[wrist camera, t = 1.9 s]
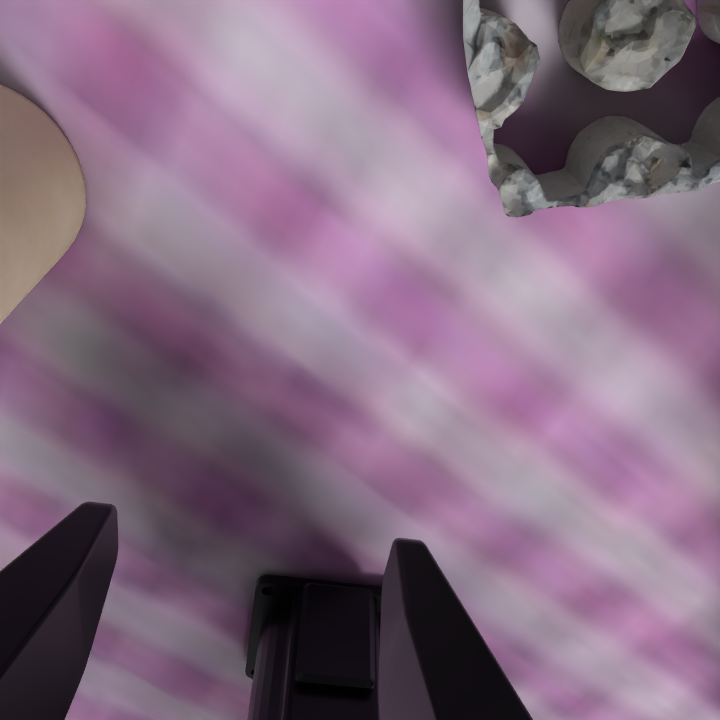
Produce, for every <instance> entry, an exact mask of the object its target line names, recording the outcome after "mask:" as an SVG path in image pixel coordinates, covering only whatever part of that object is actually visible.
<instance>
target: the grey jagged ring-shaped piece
mask: <svg viewBox="0 0 720 720" xmlns="http://www.w3.org/2000/svg"><path fill="white" fill-rule="evenodd" d="M697 19H698V23H699V25H700V28H701V30H702V32H703V33H704V34H705V35H706V36H707V37H708V38H709V39H711V40H712V41H714V42H716V43H718V44H720V0H697ZM695 28H696V22H695V16H694V14H693V13H692V12H691V10H690V9H689V8H688V6H687V5H686V4H685V2H684V1H683V0H569V1H568V3H567V5H566V7H565V9H564V11H563V14H562V17H561V20H560V23H559V29H558V37H559V40H558V43H559V46H560V49H561V52H562V55H563V57H564V58H565V60H566V61H567V63H568V64H569V65H570V67H572V68H573V69H574V70H576V71H577V72H579V73H580V74H582V75H583V76H585V77H586V78H588V79H589V80H590V81H592V82H593V83H595V84H597V85H599V86H601V87H602V88H604V89H606V90H613V91H628V92H629V91H635V90H641V89H647V88H651V87H652V86H653V85H654V84H655V83H656V82H657V81H658V80H659V79H660V78H661V77H662V76H663V75H664V74H665V73H666V72H667V71H669V70H670V69H671V68H672V67H673V66H675V65H676V64H677V63H678V62H679V61H680V60H681V58H682V56H683V54H684V52H685V50H686V48H687V46H688V44H689V41H690V39H691V37H692V35H693V32H694V30H695ZM463 41H464V49H465V57H466V65H467V73H468V77H469V82H470V86H471V91H472V96H473V100H474V105H475V110H476V114H477V119H478V123H479V128H480V133H481V137H482V140H483V143H484V146H485V149H486V153H487V158H488V172H489V177H490V179H491V181H492V183H493V184H494V185H495V186H496V187H497V189H498V191H499V194H500V198H501V201H502V204H503V206H504V213H505V214H506V215H507V216H510V217H521V216H526V215H530V214H531V213H532V212H533V211H535V210H539V209H545V208H552V207H560V206H575V207H595V206H597V205H600V204H602V203H605V202H608V201H613V200H620V199H631V198H647V197H651V196H655V195H659V194H666V193H676V192H685V191H700V190H701V189H702V188H704V187H706V186H708V185H710V184H712V183H717V182H720V96H719V97H717V98H716V99H715V100H714V101H712V102H711V103H710V104H709V105H708V106H707V107H706V108H705V109H704V110H703V112H702V113H701V115H700V116H699V118H698V119H697V121H696V124H695V126H694V128H693V131H692V134H691V137H690V140H689V141H688V142H685V143H682V144H671V143H669V142H667V141H666V140H664V139H663V138H662V137H661V136H659V135H658V134H656V133H655V132H653V131H652V130H650V129H649V128H647V127H646V126H644V125H643V124H641V123H639V122H637V121H635V120H633V119H631V118H629V117H625V116H618V115H610V116H605V117H601V118H599V119H597V120H595V121H593V122H591V123H590V124H588V125H587V126H586V127H585V128H584V129H583V130H581V131H580V133H579V134H578V135H577V136H576V137H575V139H574V140H573V142H572V144H571V146H570V148H569V151H568V155H567V159H566V164H565V167H564V168H563V169H561V170H557V171H551V172H547V173H544V174H538V175H534V174H533V173H532V171H531V170H530V169H529V168H528V166H527V165H526V164H525V162H524V161H523V160H522V159H521V158H520V157H519V156H518V155H517V154H516V152H515V151H514V150H513V149H511V148H509V147H507V146H505V145H502V144H496V143H493V135H494V129H497V128H501V127H502V125H503V123H504V120H505V119H506V118H507V117H508V116H509V115H511V114H512V113H513V112H514V111H515V110H516V109H517V108H518V107H519V106H520V105H521V104H523V101H524V98H525V96H526V93H527V91H528V88H529V86H530V84H531V81H532V79H533V75H534V71H535V69H536V67H537V66H538V64H539V63H540V59H539V54H538V48H537V45H536V44H534V43H533V42H532V41H530V40H529V39H528V38H527V36H526V35H525V34H524V33H523V32H522V31H521V29H520V28H519V27H518V26H517V25H516V24H515V23H513V22H512V21H510V20H508V19H506V18H505V17H503V16H501V15H500V14H497V13H495V12H492V11H489V10H487V9H484V8H479V0H463ZM595 84H593V85H595ZM593 85H592V86H593ZM590 87H591V86H590ZM588 88H589V87H588ZM586 89H587V88H586Z"/></svg>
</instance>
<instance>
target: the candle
mask: <svg viewBox="0 0 720 720" xmlns="http://www.w3.org/2000/svg"><path fill="white" fill-rule="evenodd" d="M85 210H86V186H85V179H84V175H83V172H82V168H81V165H80V163H79V160H78V158H77V156H76V153H75V151H74V150H73V148H72V146H71V144H70V143H69V141H68V139H67V138H66V137H65V135H64V134H63V132H62V131H61V130H60V128H59V127H58V126H57V125H56V124H55V123H54V121H53V120H52V119H51V118H50V117H49V116H48V115H47V114H46V113H45V112H44V111H42V110H41V109H40V108H39V107H38V106H37V105H35V104H34V103H33V102H31V101H30V100H29V99H27V98H26V97H24V96H23V95H21V94H19V93H17V92H16V91H14V90H12V89H10V88H8V87H6V86H4V85H1V84H0V324H1V323H2V322H3V320H4V319H5V318H6V317H7V316H8V315H9V314H10V313H11V312H12V311H13V310H14V309H15V307H16V306H17V305H18V304H19V303H20V302H21V301H22V300H23V299H24V298H25V297H26V295H27V294H28V293H29V292H30V291H31V290H32V289H33V288H34V287H35V286H36V285H37V283H38V282H39V281H40V280H41V279H42V278H43V277H44V276H45V275H46V274H47V273H48V272H49V270H50V269H51V268H52V267H53V266H54V265H55V264H56V263H57V262H58V261H59V260H60V258H61V257H62V256H63V255H64V254H65V252H66V251H67V250H68V249H69V248H70V246H71V245H72V243H73V242H74V240H75V239H76V237H77V235H78V232H79V230H80V228H81V226H82V223H83V219H84V216H85Z"/></svg>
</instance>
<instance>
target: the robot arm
mask: <svg viewBox="0 0 720 720" xmlns="http://www.w3.org/2000/svg"><path fill="white" fill-rule="evenodd" d="M117 554H118V523H117V510H116V508H115V506H114V505H111V504H104V503H95V502H85V503H83V504H81V505H80V506H79V507H78V508H76V509H75V510H74V511H73V512H71V513H70V514H69V515H68V516H67V517H65V518H64V519H63V520H62V521H61V522H59V523H58V524H57V525H56V526H54V527H53V528H52V529H51V530H50V531H48V532H47V533H46V534H45V535H44V536H42V537H41V538H40V539H39V540H37V541H36V542H35V543H34V544H33V545H31V546H30V547H29V548H28V549H27V550H25V551H24V552H23V553H22V554H21V555H19V556H18V557H17V558H16V559H14V560H13V561H12V562H11V563H10V564H8V565H7V566H6V567H5V568H4V569H2V570H1V571H0V720H65V717H66V715H67V712H68V710H69V708H70V705H71V703H72V700H73V698H74V696H75V693H76V691H77V688H78V686H79V683H80V681H81V678H82V675H83V673H84V670H85V667H86V664H87V661H88V657H89V654H90V651H91V648H92V644H93V641H94V637H95V634H96V630H97V627H98V623H99V620H100V616H101V613H102V609H103V606H104V602H105V599H106V595H107V592H108V588H109V585H110V581H111V578H112V574H113V571H114V567H115V564H116V560H117ZM245 672H246V675H247V676H248V677H250V678H252V679H253V684H252V691H251V698H250V705H249V712H248V719H247V720H533V719H532V717H531V716H530V714H529V713H528V711H527V709H526V708H525V706H524V704H523V703H522V701H521V699H520V698H519V696H518V695H517V693H516V691H515V690H514V688H513V686H512V685H511V683H510V682H509V680H508V678H507V677H506V675H505V673H504V672H503V670H502V668H501V667H500V665H499V664H498V662H497V660H496V659H495V657H494V655H493V654H492V652H491V651H490V649H489V647H488V646H487V644H486V642H485V641H484V639H483V638H482V636H481V634H480V633H479V631H478V629H477V628H476V626H475V624H474V623H473V621H472V620H471V618H470V616H469V615H468V613H467V611H466V610H465V608H464V607H463V605H462V603H461V602H460V600H459V598H458V597H457V595H456V593H455V592H454V590H453V589H452V587H451V585H450V584H449V582H448V580H447V579H446V577H445V576H444V574H443V572H442V571H441V569H440V567H439V566H438V564H437V563H436V561H435V559H434V558H433V556H432V554H431V553H430V551H429V549H428V548H427V546H426V545H425V544H424V543H423V542H422V541H420V540H413V539H404V538H397V539H395V540H394V542H393V544H392V547H391V551H390V555H389V558H388V562H387V566H386V569H385V573H384V578H383V584H382V587H375V586H366V585H357V584H348V583H339V582H330V581H321V580H312V579H302V578H293V577H284V576H275V575H264V576H261V577H260V578H258V580H257V584H256V590H255V598H254V606H253V614H252V622H251V630H250V638H249V647H248V655H247V663H246V671H245Z"/></svg>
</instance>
